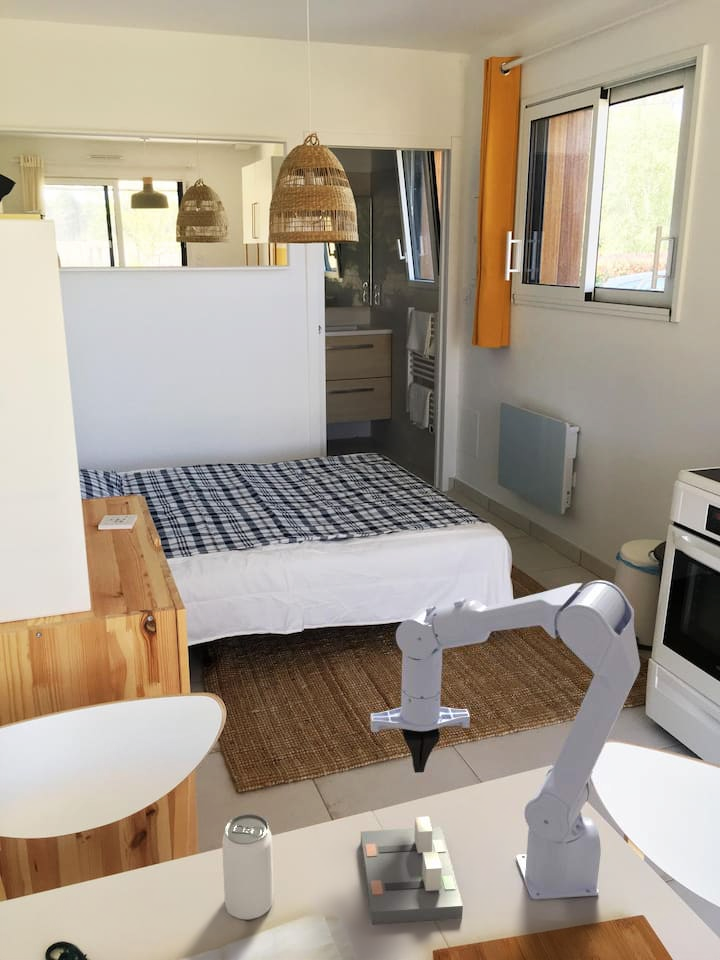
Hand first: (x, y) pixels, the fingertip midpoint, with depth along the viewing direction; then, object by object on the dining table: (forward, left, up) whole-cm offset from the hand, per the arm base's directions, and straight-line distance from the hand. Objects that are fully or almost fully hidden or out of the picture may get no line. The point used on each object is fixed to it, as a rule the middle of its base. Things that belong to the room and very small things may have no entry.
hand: (418, 768), depth 123 cm
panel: (+3, +12, -9) cm, 15 cm away
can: (+25, +14, -10) cm, 30 cm away
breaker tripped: (0, +8, -7) cm, 11 cm away
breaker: (0, +15, -7) cm, 17 cm away
